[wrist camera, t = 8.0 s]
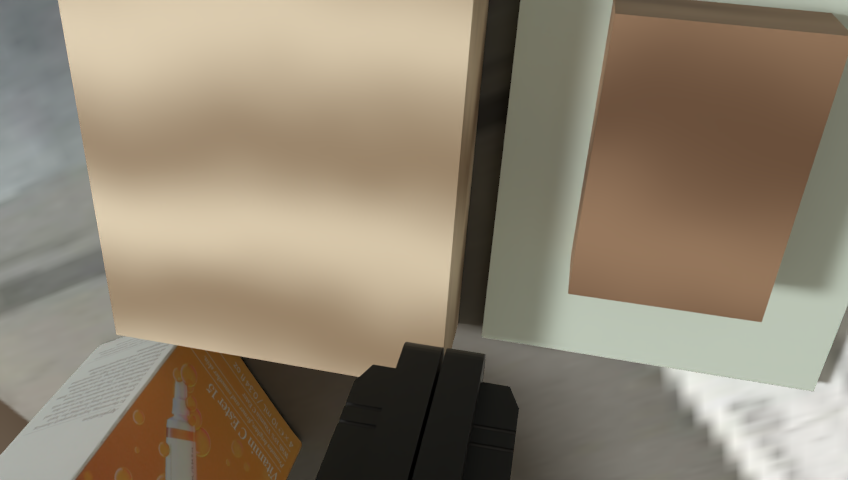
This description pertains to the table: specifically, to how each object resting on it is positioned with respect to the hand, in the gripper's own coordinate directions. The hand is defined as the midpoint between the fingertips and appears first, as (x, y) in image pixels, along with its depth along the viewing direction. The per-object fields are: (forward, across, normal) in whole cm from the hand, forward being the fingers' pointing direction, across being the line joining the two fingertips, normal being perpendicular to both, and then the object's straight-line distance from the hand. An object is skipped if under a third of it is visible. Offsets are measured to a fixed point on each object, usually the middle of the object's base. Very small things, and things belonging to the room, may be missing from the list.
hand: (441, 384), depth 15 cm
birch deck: (+14, +7, 0) cm, 15 cm away
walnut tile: (+12, -6, 0) cm, 13 cm away
